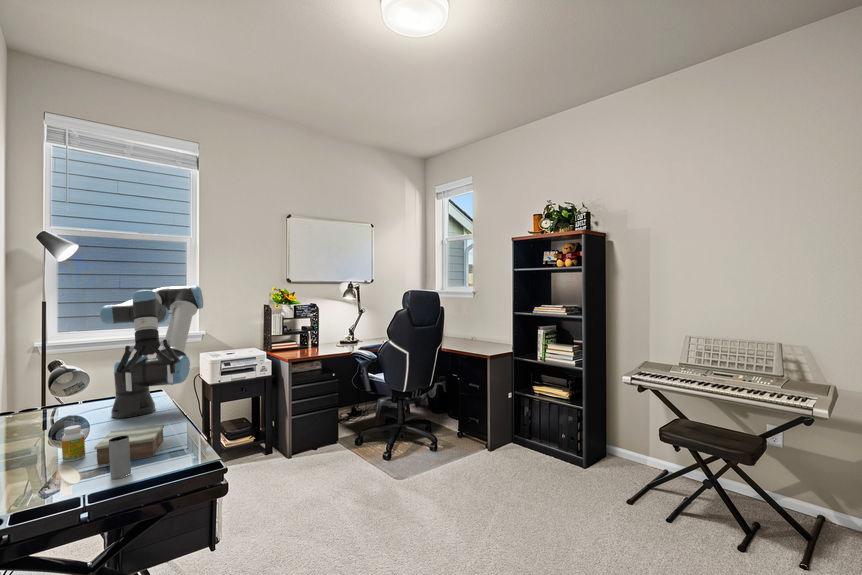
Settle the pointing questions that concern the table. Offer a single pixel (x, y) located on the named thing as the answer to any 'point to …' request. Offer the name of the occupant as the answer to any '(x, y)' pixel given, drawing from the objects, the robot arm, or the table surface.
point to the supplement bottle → (73, 444)
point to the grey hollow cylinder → (119, 457)
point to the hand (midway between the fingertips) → (150, 387)
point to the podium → (133, 442)
